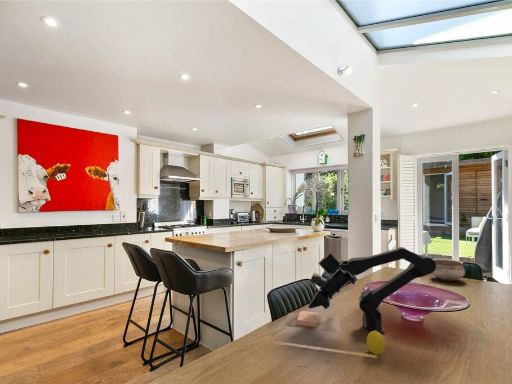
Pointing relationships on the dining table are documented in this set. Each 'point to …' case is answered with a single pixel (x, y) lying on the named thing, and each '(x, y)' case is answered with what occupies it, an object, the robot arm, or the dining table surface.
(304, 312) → the tile
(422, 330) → the dining table surface
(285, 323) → the board
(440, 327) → the dining table surface
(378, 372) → the dining table surface
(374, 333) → the lemon
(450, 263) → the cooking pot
